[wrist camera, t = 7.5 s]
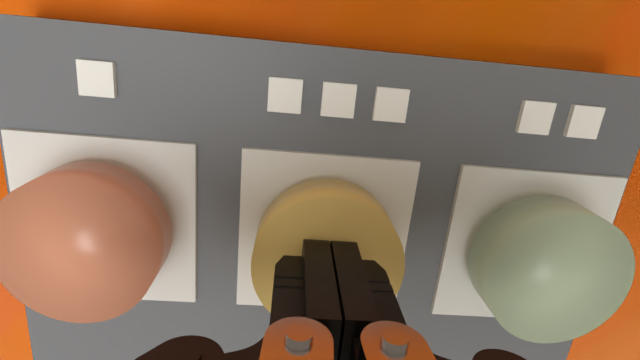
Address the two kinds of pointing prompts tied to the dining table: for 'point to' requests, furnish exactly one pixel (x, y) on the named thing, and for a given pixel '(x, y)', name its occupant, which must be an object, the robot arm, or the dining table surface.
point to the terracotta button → (82, 241)
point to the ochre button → (324, 229)
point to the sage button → (550, 268)
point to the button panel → (303, 162)
